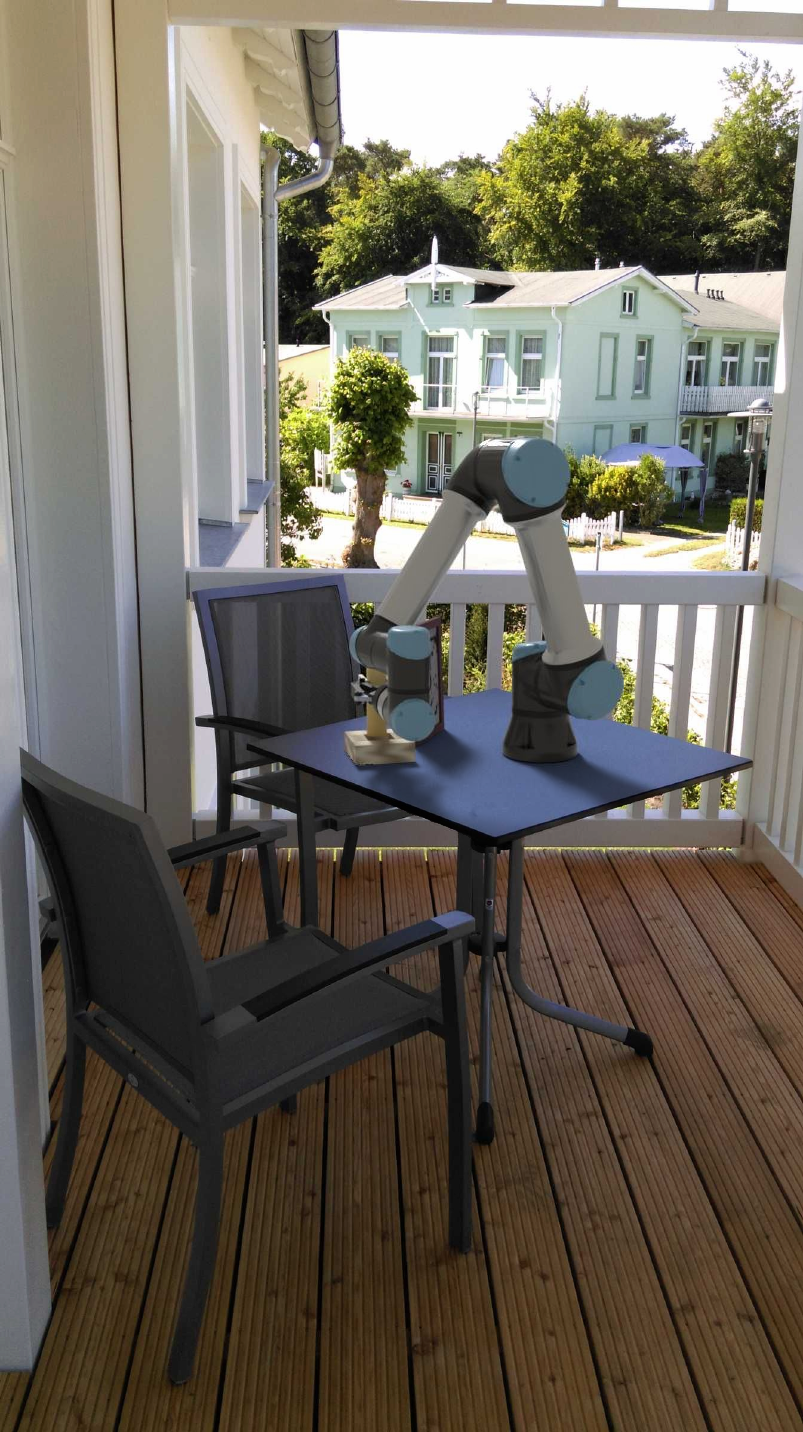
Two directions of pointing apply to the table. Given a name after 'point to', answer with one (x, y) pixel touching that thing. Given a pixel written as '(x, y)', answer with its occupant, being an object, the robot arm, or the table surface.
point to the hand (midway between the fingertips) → (371, 680)
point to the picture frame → (435, 675)
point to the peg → (374, 721)
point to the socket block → (378, 748)
